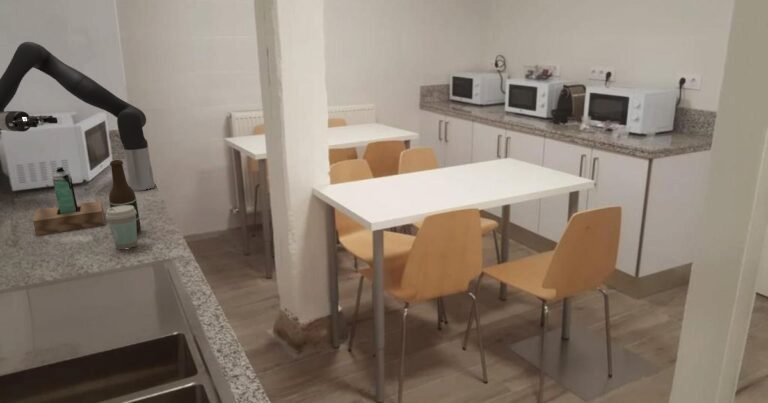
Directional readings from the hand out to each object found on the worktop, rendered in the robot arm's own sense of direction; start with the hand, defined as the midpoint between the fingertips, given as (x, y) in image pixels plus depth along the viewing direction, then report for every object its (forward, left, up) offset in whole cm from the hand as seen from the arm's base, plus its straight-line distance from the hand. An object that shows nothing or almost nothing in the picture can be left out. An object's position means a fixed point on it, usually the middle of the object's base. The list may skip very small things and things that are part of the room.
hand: (46, 122), depth 205 cm
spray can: (-4, +26, -32) cm, 42 cm away
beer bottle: (-21, +47, -32) cm, 60 cm away
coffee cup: (-20, +60, -32) cm, 71 cm away
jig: (-4, +27, -32) cm, 42 cm away
